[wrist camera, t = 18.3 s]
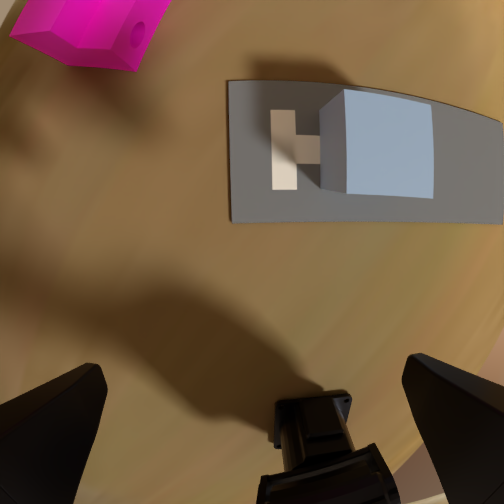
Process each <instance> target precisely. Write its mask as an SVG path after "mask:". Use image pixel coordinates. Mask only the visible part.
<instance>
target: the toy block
mask: <svg viewBox="0 0 504 504" xmlns="http://www.w3.org/2000/svg"><path fill="white" fill-rule="evenodd" d="M170 2H171V0H28V2H27V3H26V5H25V7H24V9H23V10H22V12H21V14H20V16H19V18H18V19H17V21H16V23H15V25H14V27H13V29H12V31H11V33H10V35H9V36H10V37H12V38H14V39H16V40H18V41H20V42H22V43H24V44H27V45H29V46H31V47H33V48H35V49H37V50H39V51H41V52H43V53H45V54H47V55H49V56H51V57H53V58H54V59H56V60H58V61H60V62H62V63H64V64H66V65H68V66H84V67H98V68H108V69H117V70H126V71H133V72H136V71H137V69H138V67H139V64H140V62H141V60H142V57H143V55H144V53H145V51H146V49H147V46H148V44H149V42H150V40H151V38H152V36H153V34H154V32H155V30H156V28H157V26H158V24H159V22H160V20H161V18H162V16H163V14H164V13H165V11H166V9H167V7H168V5H169V3H170Z"/></svg>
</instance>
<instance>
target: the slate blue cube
mask: <svg viewBox="0 0 504 504" xmlns="http://www.w3.org/2000/svg"><path fill="white" fill-rule="evenodd" d="M319 122H320V189H324V190H329V191H335V192H340V193H345V194H366V195H386V196H403V197H418V198H431V199H433V188H434V147H433V125H432V112H431V105H429V104H425V103H420V102H416V101H412V100H407V99H402V98H397V97H392V96H387V95H381V94H375V93H369V92H362V91H355V90H348V89H343V90H342V91H341V92H340V93H339V94H338V95H336V96H335V97H334V98H333V99H332V100H331V101H329V102H328V103H327V104H326V105H325V106H324V107H322V108H321V109H320V110H319Z"/></svg>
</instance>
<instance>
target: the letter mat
mask: <svg viewBox="0 0 504 504" xmlns="http://www.w3.org/2000/svg"><path fill="white" fill-rule="evenodd" d="M343 89H348V90H355V91H362V92H369V93H375V94H381V95H387V96H392V97H397V98H402V99H407V100H412V101H416V102H420V103H425V104H429V105H431V112H432V125H433V147H434V188H433V199H431V198H418V197H403V196H386V195H366V194H345V193H340V192H335V191H329V190H324V189H320V122H319V110H320V109H321V108H322V107H324V106H325V105H326V104H327V103H328V102H329V101H331V100H332V99H333V98H334V97H335V96H336V95H338V94H339V93H340V92H341V91H342V90H343ZM229 135H230V176H231V208H232V223H265V222H335V221H377V222H443V223H476V224H500V225H503V214H504V135H503V123H501V122H498V121H496V120H493V119H490V118H488V117H485V116H482V115H479V114H476V113H473V112H470V111H467V110H463V109H460V108H457V107H453V106H450V105H446V104H443V103H439V102H435V101H431V100H427V99H423V98H419V97H414V96H410V95H405V94H400V93H395V92H389V91H383V90H377V89H371V88H364V87H357V86H349V85H340V84H330V83H318V82H303V81H276V80H251V81H229Z"/></svg>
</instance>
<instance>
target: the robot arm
mask: <svg viewBox="0 0 504 504" xmlns="http://www.w3.org/2000/svg"><path fill="white" fill-rule="evenodd" d="M402 385H403V388H404V391H405V394H406V397H407V400H408V402H409V405H410V408H411V412H412V415H413V418H414V420H415V423H416V425H417V428H418V430H419V432H420V434H421V437H422V439H423V441H424V443H425V445H426V448H427V450H428V452H429V455H430V457H431V460H432V462H433V464H434V467H435V469H436V472H437V474H438V476H439V479H440V482H441V484H442V487H443V489H444V492H445V495H446V497H447V500H448V503H449V504H504V386H501V385H499V384H496V383H494V382H491V381H489V380H486V379H484V378H481V377H479V376H476V375H474V374H471V373H469V372H466V371H464V370H461V369H459V368H457V367H454V366H452V365H449V364H447V363H444V362H442V361H440V360H437V359H435V358H432V357H430V356H428V355H425V354H423V353H416V354H411V355H409V356H408V358H407V361H406V364H405V368H404V371H403V375H402ZM107 392H108V388H107V384H106V381H105V378H104V375H103V372H102V369H101V367H100V365H98V364H94V363H85V364H83V365H81V366H79V367H77V368H75V369H73V370H71V371H69V372H67V373H65V374H63V375H61V376H59V377H57V378H55V379H53V380H51V381H49V382H47V383H45V384H43V385H41V386H38V387H36V388H34V389H32V390H30V391H28V392H26V393H24V394H22V395H20V396H18V397H16V398H14V399H11V400H9V401H7V402H5V403H3V404H1V405H0V504H73V503H74V499H75V496H76V493H77V490H78V486H79V483H80V480H81V477H82V474H83V471H84V468H85V465H86V462H87V459H88V457H89V454H90V451H91V448H92V445H93V443H94V440H95V437H96V434H97V431H98V427H99V423H100V419H101V415H102V411H103V408H104V404H105V400H106V396H107ZM345 399H346V400H345ZM351 402H352V397H351V395H350V394H339V395H332V396H323V397H314V398H304V399H292V400H280V401H277V402H276V403H275V420H274V448H275V449H282V456H283V464H284V472H282V473H278V474H273V475H263V476H261V480H260V484H259V487H258V494H257V501H256V504H401V501H400V496H399V493H398V490H397V486H396V484H395V481H394V478H393V476H392V474H391V472H390V470H389V468H388V466H387V465H386V463H385V461H384V459H383V457H382V455H381V453H380V452H379V450H378V448H377V446H376V444H375V443H372V444H369V445H368V446H367V447H365V448H362V449H359V450H357V451H356V450H355V447H354V445H353V442H352V439H351V436H350V434H349V431H348V428H347V425H346V422H347V418H348V414H349V410H350V406H351ZM281 405H282V406H281Z"/></svg>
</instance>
